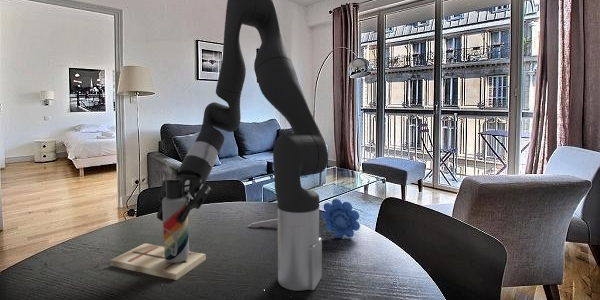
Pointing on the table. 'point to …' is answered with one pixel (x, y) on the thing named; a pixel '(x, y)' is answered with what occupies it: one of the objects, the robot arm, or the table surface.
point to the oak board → (156, 262)
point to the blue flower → (340, 218)
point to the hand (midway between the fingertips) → (169, 220)
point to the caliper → (264, 223)
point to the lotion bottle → (174, 223)
